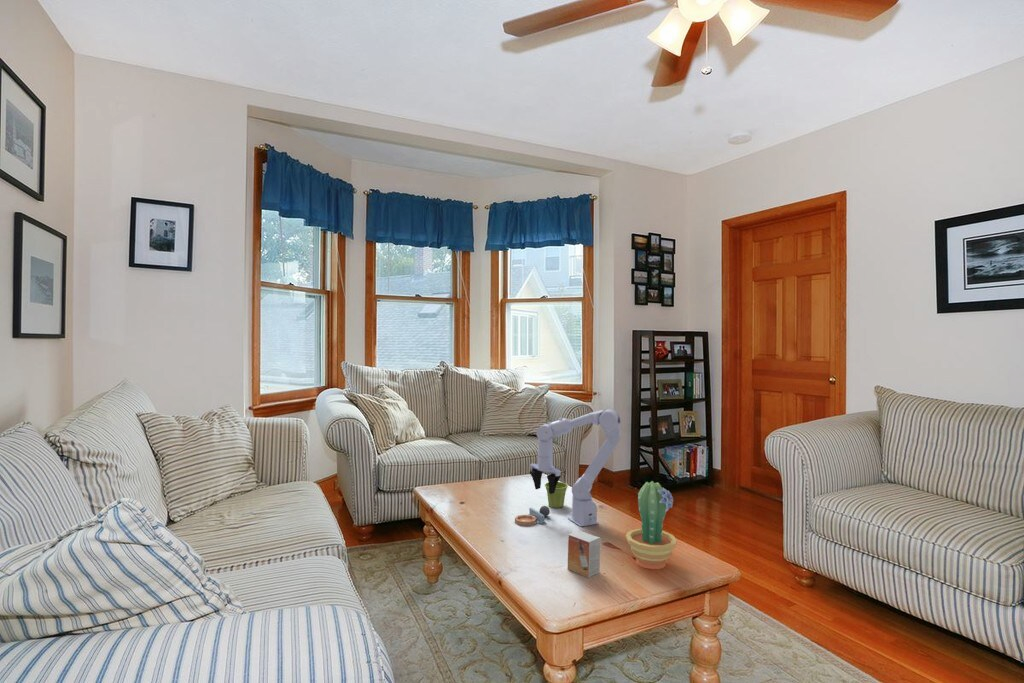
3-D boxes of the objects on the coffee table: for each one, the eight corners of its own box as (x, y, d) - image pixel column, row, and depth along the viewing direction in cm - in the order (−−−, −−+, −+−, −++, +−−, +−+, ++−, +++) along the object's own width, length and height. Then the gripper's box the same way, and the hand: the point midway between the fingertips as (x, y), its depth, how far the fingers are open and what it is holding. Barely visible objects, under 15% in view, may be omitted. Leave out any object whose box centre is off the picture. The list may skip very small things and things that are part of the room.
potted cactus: (641, 576, 154) (642, 491, 154) (616, 555, 169) (617, 477, 169) (687, 570, 159) (688, 487, 158) (659, 550, 174) (660, 474, 173)
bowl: (539, 523, 197) (539, 520, 197) (521, 526, 193) (521, 523, 193) (529, 517, 204) (529, 513, 204) (512, 520, 200) (512, 516, 200)
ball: (551, 517, 204) (551, 506, 204) (542, 518, 202) (542, 508, 202) (546, 513, 208) (546, 503, 208) (537, 515, 206) (537, 505, 206)
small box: (567, 569, 159) (567, 534, 159) (578, 563, 163) (579, 529, 163) (588, 578, 153) (589, 542, 153) (600, 572, 157) (600, 537, 157)
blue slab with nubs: (546, 523, 197) (546, 515, 197) (540, 524, 196) (540, 516, 196) (533, 515, 206) (533, 507, 206) (527, 515, 205) (527, 508, 205)
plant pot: (568, 509, 213) (568, 488, 213) (545, 509, 213) (545, 487, 213) (566, 502, 222) (566, 481, 222) (544, 502, 222) (544, 481, 222)
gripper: (566, 457, 202) (565, 493, 202) (539, 451, 213) (538, 484, 213) (553, 460, 197) (553, 496, 197) (526, 453, 208) (526, 488, 208)
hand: (544, 490), depth 205 cm, fingers open, 7 cm apart
